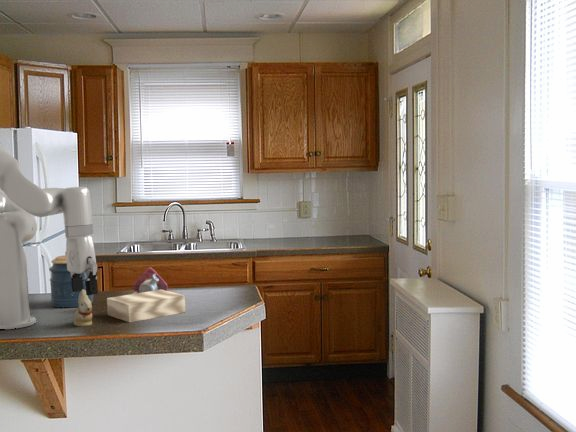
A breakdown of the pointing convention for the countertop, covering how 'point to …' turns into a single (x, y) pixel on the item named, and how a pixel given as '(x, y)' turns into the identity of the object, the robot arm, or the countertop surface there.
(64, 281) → the canister
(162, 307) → the birch riser
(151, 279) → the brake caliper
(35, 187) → the robot arm
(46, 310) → the countertop surface
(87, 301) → the chocolate bunny
